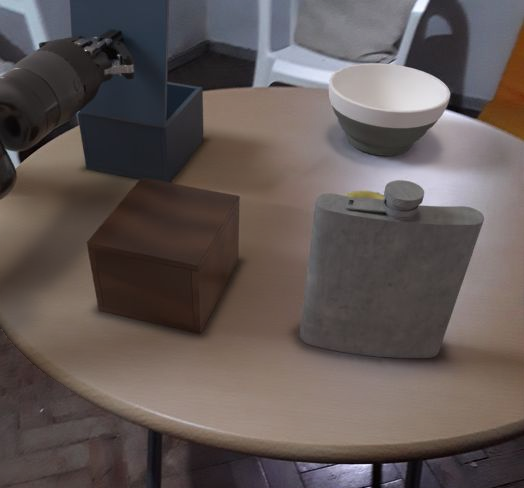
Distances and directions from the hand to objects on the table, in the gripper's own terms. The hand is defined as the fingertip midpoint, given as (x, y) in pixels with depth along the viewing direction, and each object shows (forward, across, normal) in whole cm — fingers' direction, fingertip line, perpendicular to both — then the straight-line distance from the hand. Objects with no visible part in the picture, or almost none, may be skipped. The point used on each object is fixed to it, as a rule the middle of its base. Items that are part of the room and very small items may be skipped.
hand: (117, 38), depth 83 cm
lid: (0, 0, -2) cm, 2 cm away
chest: (+6, 0, -19) cm, 20 cm away
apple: (-9, +37, -20) cm, 43 cm away
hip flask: (-27, +41, -20) cm, 53 cm away
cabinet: (-24, +16, -19) cm, 35 cm away
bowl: (+24, +35, -20) cm, 47 cm away
